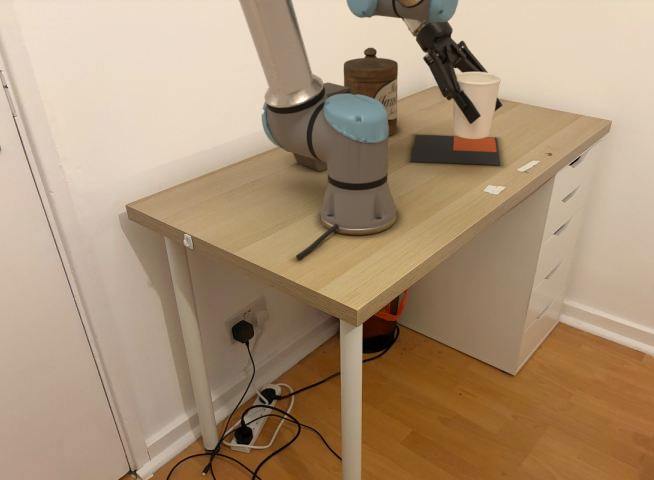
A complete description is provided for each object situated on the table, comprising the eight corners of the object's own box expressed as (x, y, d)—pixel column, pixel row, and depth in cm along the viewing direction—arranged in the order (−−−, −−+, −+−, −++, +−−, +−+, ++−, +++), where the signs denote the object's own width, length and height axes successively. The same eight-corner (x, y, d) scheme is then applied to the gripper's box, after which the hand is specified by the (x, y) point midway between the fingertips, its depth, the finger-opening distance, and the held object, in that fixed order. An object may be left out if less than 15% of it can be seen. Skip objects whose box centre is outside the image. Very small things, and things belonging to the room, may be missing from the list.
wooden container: (390, 140, 152) (391, 54, 140) (338, 136, 155) (334, 52, 143) (401, 124, 164) (403, 43, 152) (353, 120, 167) (351, 41, 155)
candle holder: (497, 140, 121) (505, 83, 114) (452, 140, 121) (457, 83, 114) (489, 125, 129) (496, 71, 122) (446, 126, 129) (451, 71, 122)
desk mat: (500, 166, 137) (500, 164, 136) (410, 162, 139) (410, 160, 139) (496, 138, 153) (496, 137, 153) (415, 135, 156) (415, 134, 155)
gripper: (444, 31, 130) (497, 112, 131) (388, 46, 116) (448, 137, 117) (466, 8, 125) (522, 93, 125) (410, 21, 110) (473, 116, 111)
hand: (486, 114), depth 121 cm, fingers closed on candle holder, 9 cm apart
